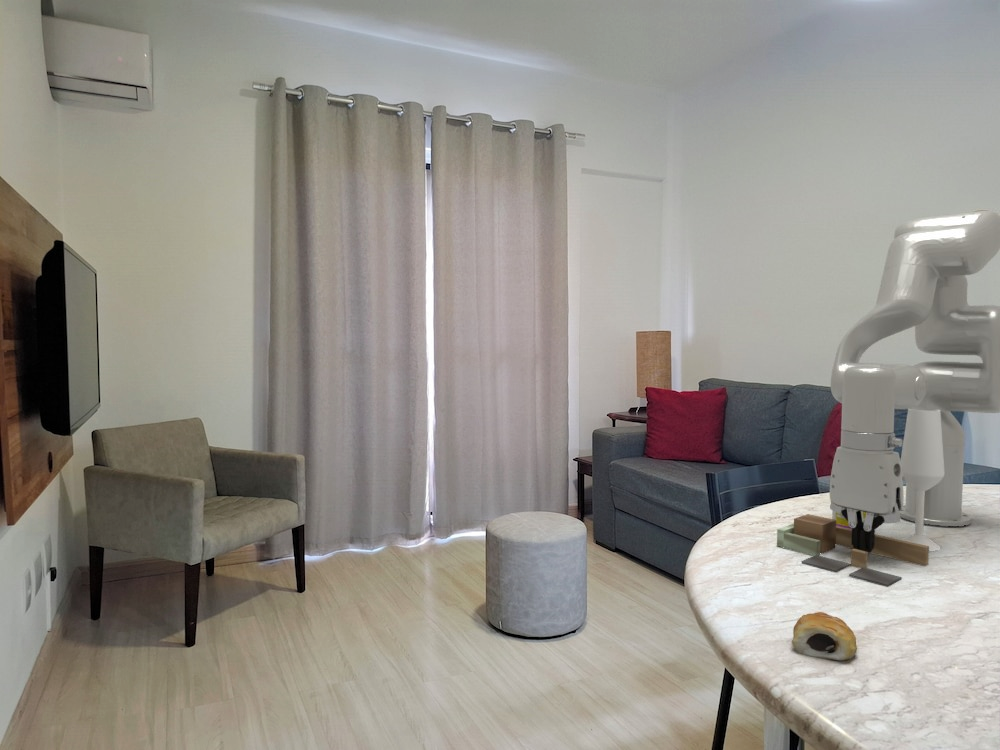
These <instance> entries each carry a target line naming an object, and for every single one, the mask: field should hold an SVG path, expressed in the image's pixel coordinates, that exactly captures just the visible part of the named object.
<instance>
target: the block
mask: <svg viewBox="0 0 1000 750" xmlns="http://www.w3.org/2000/svg"><path fill="white" fill-rule="evenodd" d="M793 524H794V533H793V534H796V535H800V536H804V537H808V538H812V539H816V540H820V541H821V542H820V553H821V554H822V553H823V554H824V553H827V552H829V550H830V551H831V550H832V551H833V550H835V549H836V548H837V547H836V546H837V545H836V520H834V519H832V518H829V517H824V516H819V515H813V514H808V513H807V514H805V515H800V516H798V517H796V518H793ZM821 554H820V555H821Z"/></svg>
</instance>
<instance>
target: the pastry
mask: <svg viewBox="0 0 1000 750" xmlns="http://www.w3.org/2000/svg"><path fill="white" fill-rule="evenodd" d="M792 631H793V632H792V634H793V636H792V639H791V645H792V646H793V648H794V649H795V651H796V652H797V653H798V654H802V655H804V656H809V657H814V658H819V659H820V658H821V659H828V660H832V661H838V662H839V661H841V662H842V661H848V660H850V659H852V658H854V657H855V655H856V653H857V651H858V647H857V646H858V645H857V638H856V635H855V634H854V631H853V630H852V629H851V627H850V626H849V625H848V624H847V623H846V621H844V620H843V619H841V618H840V617H837V616H833V615H830V614H828V613H825V612H821V611H817V612H814V613H807V614H803V615H802V616H801V617H800V618H799V619H797V621H796V622H795V624H794V626H793V629H792Z"/></svg>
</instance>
